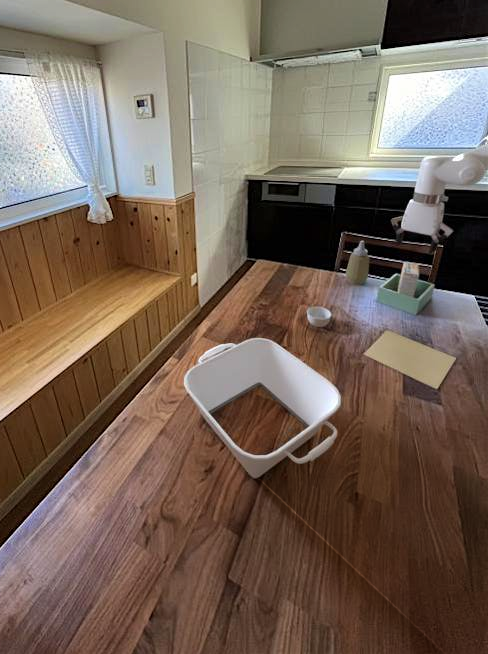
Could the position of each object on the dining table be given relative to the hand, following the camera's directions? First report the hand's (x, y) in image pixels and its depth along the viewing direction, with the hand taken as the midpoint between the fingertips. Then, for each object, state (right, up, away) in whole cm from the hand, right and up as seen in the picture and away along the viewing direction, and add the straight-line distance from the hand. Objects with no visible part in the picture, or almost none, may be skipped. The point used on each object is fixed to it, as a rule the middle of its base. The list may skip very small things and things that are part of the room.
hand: (414, 248), depth 112 cm
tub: (-60, -43, -34) cm, 81 cm away
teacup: (-33, -26, 0) cm, 41 cm away
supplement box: (+2, -19, +8) cm, 21 cm away
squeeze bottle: (-9, -14, +22) cm, 28 cm away
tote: (+2, -19, +8) cm, 21 cm away
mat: (-13, -32, -17) cm, 38 cm away
